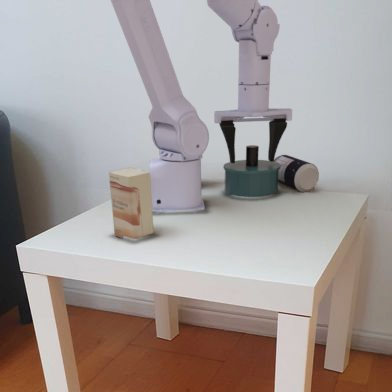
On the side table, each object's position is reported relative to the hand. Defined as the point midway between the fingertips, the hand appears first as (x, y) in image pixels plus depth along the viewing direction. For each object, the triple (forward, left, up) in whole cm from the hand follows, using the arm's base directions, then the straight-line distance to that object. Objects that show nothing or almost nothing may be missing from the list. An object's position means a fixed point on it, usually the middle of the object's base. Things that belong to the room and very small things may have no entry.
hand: (251, 161), depth 103 cm
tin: (0, 0, -6) cm, 6 cm away
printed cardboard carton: (-22, -25, -6) cm, 34 cm away
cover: (0, 0, -1) cm, 1 cm away
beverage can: (+11, -2, -3) cm, 12 cm away
